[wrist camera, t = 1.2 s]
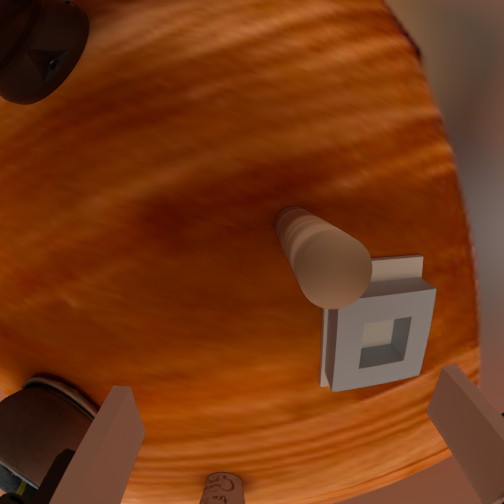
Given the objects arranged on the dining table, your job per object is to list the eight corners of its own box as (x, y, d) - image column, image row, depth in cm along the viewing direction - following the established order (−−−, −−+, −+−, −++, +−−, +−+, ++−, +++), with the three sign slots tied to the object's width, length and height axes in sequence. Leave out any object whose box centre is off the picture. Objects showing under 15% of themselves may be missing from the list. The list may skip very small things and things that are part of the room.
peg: (273, 207, 30) (297, 236, 15) (312, 205, 30) (373, 232, 15) (275, 246, 31) (299, 312, 16) (313, 243, 31) (370, 305, 16)
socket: (322, 261, 32) (335, 276, 27) (419, 254, 31) (441, 266, 27) (318, 382, 35) (326, 407, 30) (402, 368, 35) (417, 389, 30)
